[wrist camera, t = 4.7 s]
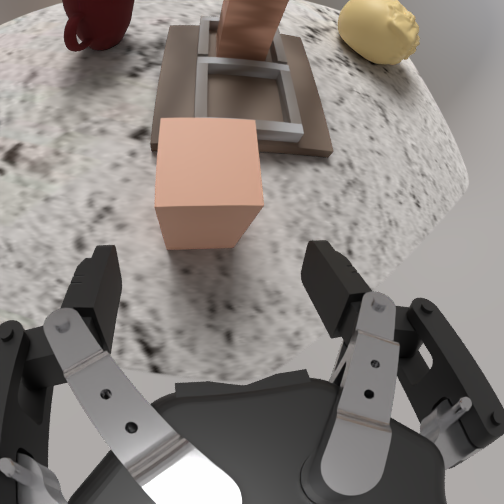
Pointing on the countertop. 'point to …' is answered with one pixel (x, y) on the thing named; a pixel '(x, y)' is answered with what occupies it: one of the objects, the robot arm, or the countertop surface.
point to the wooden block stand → (244, 78)
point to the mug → (96, 23)
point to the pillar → (207, 181)
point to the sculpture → (379, 30)
